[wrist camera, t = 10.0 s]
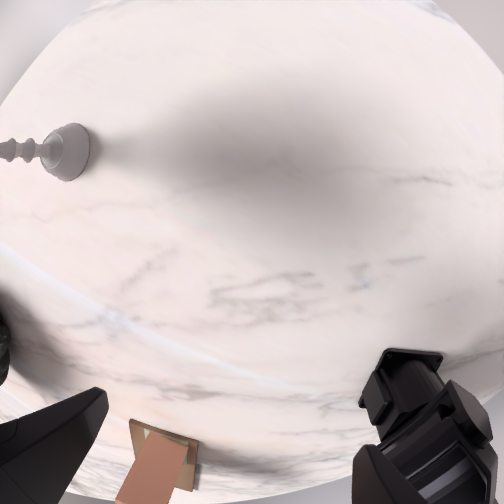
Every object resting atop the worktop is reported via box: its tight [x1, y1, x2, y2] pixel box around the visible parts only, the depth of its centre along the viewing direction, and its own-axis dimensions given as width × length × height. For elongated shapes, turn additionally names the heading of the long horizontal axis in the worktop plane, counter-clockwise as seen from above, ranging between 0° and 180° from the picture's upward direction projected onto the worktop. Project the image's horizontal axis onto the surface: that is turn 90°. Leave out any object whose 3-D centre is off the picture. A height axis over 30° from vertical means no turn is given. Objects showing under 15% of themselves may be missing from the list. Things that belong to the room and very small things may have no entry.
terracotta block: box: [115, 431, 189, 504], centre depth 20 cm, size 4×4×10 cm
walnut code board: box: [129, 419, 198, 492], centre depth 27 cm, size 8×14×1 cm, turn 169°
